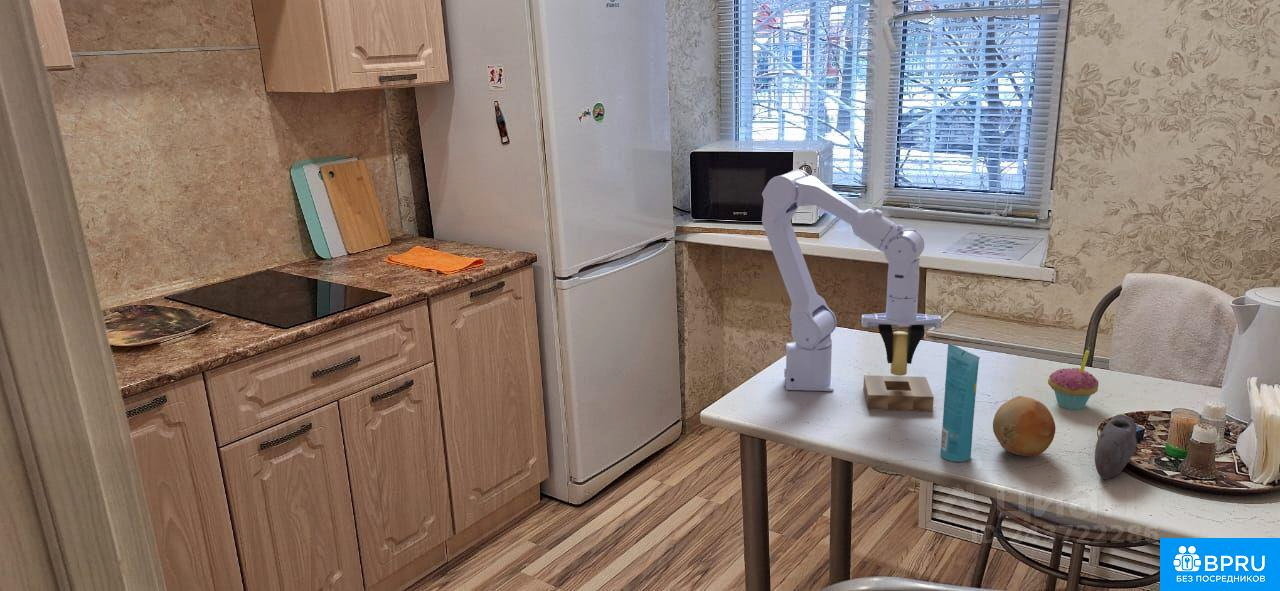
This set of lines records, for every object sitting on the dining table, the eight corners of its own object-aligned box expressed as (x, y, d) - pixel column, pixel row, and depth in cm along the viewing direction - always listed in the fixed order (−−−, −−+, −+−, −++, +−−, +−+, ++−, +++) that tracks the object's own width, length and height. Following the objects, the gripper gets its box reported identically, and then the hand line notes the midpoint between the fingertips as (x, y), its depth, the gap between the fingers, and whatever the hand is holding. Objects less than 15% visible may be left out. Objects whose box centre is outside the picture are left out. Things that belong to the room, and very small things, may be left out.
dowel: (891, 375, 168) (893, 336, 166) (890, 369, 171) (892, 331, 169) (907, 376, 168) (909, 337, 165) (906, 369, 171) (908, 331, 168)
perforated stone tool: (1117, 490, 136) (1122, 450, 134) (1081, 481, 139) (1085, 441, 137) (1139, 454, 147) (1144, 416, 145) (1105, 446, 150) (1110, 409, 148)
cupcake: (1095, 399, 168) (1102, 341, 165) (1096, 417, 161) (1104, 356, 157) (1046, 393, 172) (1052, 336, 168) (1045, 410, 164) (1051, 350, 161)
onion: (982, 456, 148) (986, 402, 145) (1001, 434, 155) (1006, 382, 152) (1042, 472, 142) (1048, 416, 139) (1059, 449, 149) (1065, 395, 146)
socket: (867, 409, 168) (868, 395, 167) (863, 389, 177) (863, 375, 176) (932, 411, 166) (933, 396, 165) (924, 390, 175) (925, 376, 174)
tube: (982, 461, 146) (991, 354, 141) (960, 468, 144) (969, 359, 139) (949, 444, 153) (956, 340, 147) (928, 450, 151) (935, 345, 145)
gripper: (864, 300, 163) (862, 368, 166) (946, 301, 160) (941, 370, 164) (861, 289, 169) (859, 355, 173) (939, 290, 167) (935, 356, 171)
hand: (898, 361), depth 169 cm, fingers closed on dowel, 3 cm apart
